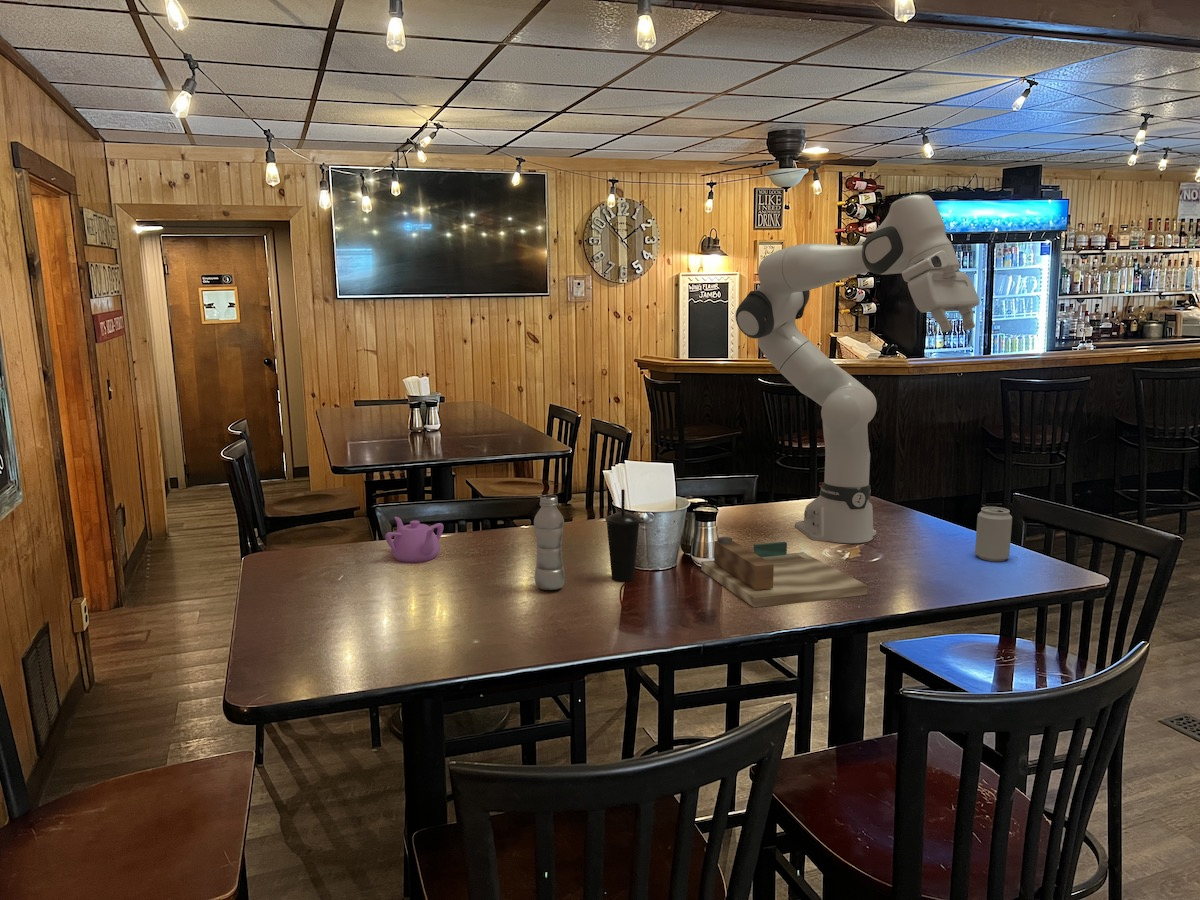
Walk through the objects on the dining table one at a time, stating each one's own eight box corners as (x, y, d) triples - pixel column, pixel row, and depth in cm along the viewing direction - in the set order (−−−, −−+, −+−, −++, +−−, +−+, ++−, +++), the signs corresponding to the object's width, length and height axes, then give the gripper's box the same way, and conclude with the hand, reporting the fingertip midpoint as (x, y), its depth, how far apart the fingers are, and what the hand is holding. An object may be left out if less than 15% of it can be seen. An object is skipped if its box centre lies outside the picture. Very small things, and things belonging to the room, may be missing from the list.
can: (1014, 562, 203) (1018, 512, 201) (982, 562, 204) (986, 512, 202) (1000, 553, 211) (1004, 505, 209) (969, 553, 211) (973, 505, 209)
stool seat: (701, 570, 198) (701, 548, 197) (802, 560, 205) (803, 539, 204) (754, 607, 173) (754, 583, 172) (867, 594, 181) (868, 571, 180)
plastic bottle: (542, 595, 180) (541, 501, 177) (529, 586, 186) (528, 495, 183) (570, 590, 183) (569, 498, 180) (557, 582, 189) (556, 492, 186)
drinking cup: (622, 571, 197) (622, 484, 194) (647, 578, 192) (647, 489, 188) (598, 578, 192) (598, 489, 189) (623, 586, 186) (623, 494, 183)
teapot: (434, 565, 202) (433, 528, 200) (377, 563, 204) (375, 526, 202) (450, 551, 214) (449, 516, 212) (396, 549, 215) (395, 514, 214)
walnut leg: (713, 561, 196) (713, 537, 195) (729, 560, 197) (729, 536, 196) (755, 590, 177) (756, 563, 176) (773, 588, 178) (773, 561, 177)
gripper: (946, 274, 187) (968, 334, 185) (896, 274, 174) (920, 338, 172) (973, 261, 183) (996, 321, 181) (924, 259, 169) (949, 325, 167)
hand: (959, 329), depth 176 cm, fingers open, 8 cm apart
